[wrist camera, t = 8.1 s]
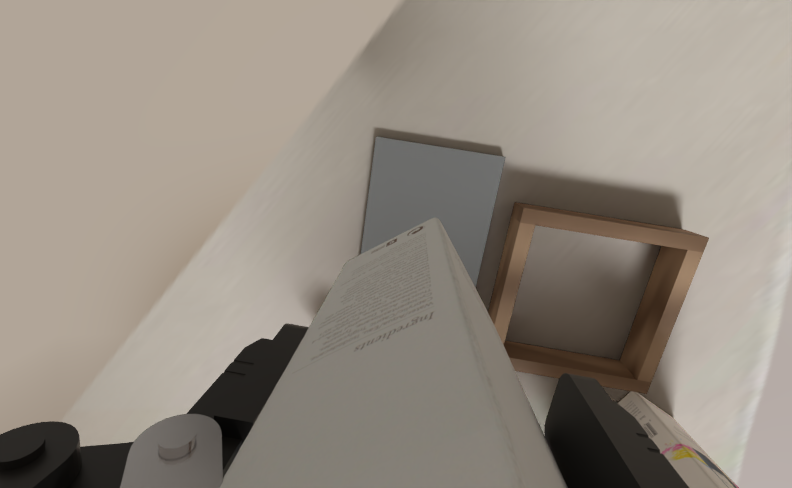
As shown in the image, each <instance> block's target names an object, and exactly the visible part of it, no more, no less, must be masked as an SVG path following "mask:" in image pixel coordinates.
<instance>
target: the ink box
mask: <svg viewBox="0 0 792 488" xmlns="http://www.w3.org/2000/svg"><path fill="white" fill-rule="evenodd" d="M618 404H619V405H620V406H621V407H623V408H624V409H625V410H626V411H627V412H629V413H630V414H631V415H632V416H634V417H635V418H636V420H637V421H638V422H639V423H640V425H641V426H642V427H643V429H644V430H645V431H646V433H647V434H648V437H649V438H650V439H652V440H653V442H654V443H655V444H656V445H657V447H658V448H659V449H660V454H663V455H664V456H665V457H666V458H667V460H668V461H669V462H670V464H671V465H672V466H673V467H674V469H675V470H676V471H677V473H678V474H679V475H680V476H681V478H682V479H683V480H684V482H685V483H686V484H687V486H688V487H689V488H739V487H738V486H737V485H736V484H735V483H734V482H733V481H732V480H731V479H730V478H729V477H728V476H727V475H726V474H725V473H724V472H723V471H722V470H721V468H720V467H719V466H718V465H717V464H716V463H715V462H714V461H713V460H712V459H711V458H710V457H709V456H708V455H707V454H706V453H705V451H704V450H703V449H702V448H701V447H700V446H699V445H698V444H697V443H696V442H695V441H694V440H693V439H692V438H691V436H690V435H689V434H688V433H687V432H686V431H685V430H684V429H683V428H682V427H681V426H680V425H679V424H678V423H677V421H676V420H675V419H674V418H673V417H671V416H670V415H669V414H667V413H666V412H664V411H663V410H661V409H660V408H659V407H657V406H656V405H654V404H653V403H652V402H650V401H649V400H647V399H646V398H644V397H643V396H641V395H640V394H639V393H637V392H633V391H631V392H630V393H629V394H627V395H626V396H625V397H624V398H623V399H622V400H621V401H620V402H618Z"/></svg>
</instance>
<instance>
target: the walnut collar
mask: <svg viewBox="0 0 792 488" xmlns="http://www.w3.org/2000/svg"><path fill="white" fill-rule="evenodd" d="M535 225H538V226H544V227H550V228H556V229H562V230H568V231H575V232H581V233H587V234H593V235H599V236H605V237H611V238H617V239H624V240H630V241H636V242H642V243H648V244H654V245H660V246H661V249H660V251H659V254H658V257H657V260H656V262H655V265H654V268H653V270H652V273H651V276H650V279H649V281H648V284H647V287H646V290H645V292H644V295H643V298H642V301H641V303H640V306H639V309H638V311H637V314H636V317H635V320H634V322H633V325H632V328H631V331H630V333H629V336H628V339H627V342H626V344H625V347H624V350H623V352H622V355H621V358H620V360H614V359H609V358H603V357H597V356H591V355H586V354H580V353H574V352H568V351H563V350H557V349H551V348H545V347H540V346H534V345H528V344H522V343H516V342H511V341H505V338H506V334H507V330H508V327H509V323H510V319H511V315H512V311H513V308H514V304H515V300H516V296H517V292H518V289H519V285H520V281H521V277H522V273H523V270H524V266H525V262H526V258H527V254H528V251H529V247H530V243H531V239H532V235H533V232H534V228H535ZM708 239H709V238H708V237H705V236H702V235H699V234H696V233H693V232H689V231H686V230H683V229H678V228H672V227H666V226H659V225H653V224H647V223H641V222H635V221H628V220H622V219H616V218H610V217H604V216H598V215H591V214H585V213H579V212H573V211H567V210H560V209H554V208H548V207H542V206H536V205H529V204H523V203H517V202H515V203H514V207H513V211H512V215H511V219H510V224H509V228H508V232H507V236H506V240H505V244H504V248H503V252H502V257H501V261H500V265H499V269H498V273H497V277H496V281H495V285H494V289H493V294H492V298H491V302H490V306H489V310H488V314H489V316H490V318H491V320H492V322H493V324H494V326H495V328H496V330H497V332H498V334H499V336H500V339H501V341H502V343H503V345H504V347H505V350H506V352H507V354H508V356H509V359H510V361H511V363H512V365H513V367H514V370H515V371H519V372H525V373H531V374H536V375H542V376H548V377H553V378H560V377H561V375H562V374H564V373H568V374H573V375H579V376H585V377H590V378H594V379H596V380H597V381H598V382H599V383H600V385H601V386H604V387H610V388H616V389H622V390H627V391H633V392H639V393H644V394H647V392H648V389H649V387H650V384H651V382H652V379H653V377H654V374H655V372H656V369H657V367H658V364H659V362H660V359H661V357H662V354H663V352H664V349H665V347H666V344H667V342H668V339H669V337H670V334H671V332H672V329H673V327H674V324H675V322H676V319H677V317H678V314H679V312H680V309H681V307H682V304H683V302H684V299H685V297H686V294H687V292H688V289H689V287H690V284H691V282H692V279H693V277H694V274H695V272H696V269H697V267H698V264H699V262H700V259H701V257H702V254H703V252H704V249H705V247H706V244H707V242H708Z"/></svg>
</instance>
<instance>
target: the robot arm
mask: <svg viewBox="0 0 792 488" xmlns="http://www.w3.org/2000/svg"><path fill="white" fill-rule="evenodd" d="M308 328H309V327H304V326H298V325H293V324H285V325H284V326H283V327H282V329H281V330H280V331H279V332H278V334H277V335H276V336H275V338H274V339H273V340H269V339H263V338H262V339H260V340H258V341H256V342H254V343H252V344H250V345H249V346H247V347H245V348H244V349H243V350H242V352H241V353H240V354H239V355H238V356H237V357H236V358H235V359H234V362H232V363H231V364H230V365H229V366H228V367H227V369H226V370H225V372H224V373H222V374H221V375H220V376H219V378H218V379H217V380H216V381H215V382H214V383H213V384H212V386H211V387H210V388H209V389H208V390H207V391H206V392H205V393H204V395H203V396H202V397H201V398H200V399H199V400H198V401H197V403H196V404H195V405H194V406H193V407H192V408H191V409H190V410H189V412H188V413H187V414H183V415H177V416H173V417H170V418H167V419H164V420H162V421H160V422H158V423H156V424H154V425H152V426H151V427H149V428H148V429H146V430H145V431H144V432H143V433H142V434H140V435H139V436H138V438H137V439H136V440H135V441H134V442H129V443H120V444H109V445H97V446H85V447H80V440H79V434H78V431H77V430H76V428H75V427H73V426H72V425H70V424H67V423H63V422H41V423H35V424H30V425H26V426H22V427H19V428H16V429H13V430H10V431H8V432H5V433H3V434H1V435H0V488H220V486H221V484H222V482H223V477H224V476H225V474H226V472H227V471H228V469H229V467H230V466H231V464H232V462H233V460H234V458H235V457H236V455H237V453H238V451H239V449H240V448H241V446H242V444H243V442H244V441H245V439H246V437H247V436H248V434H249V432H250V430H251V429H252V427H253V425H254V423H255V421H256V420H257V418H258V416H259V414H260V412H261V411H262V409H263V407H264V406H265V404H266V402H267V400H268V398H269V397H270V395H271V394H272V392H273V390H274V388H275V386H276V384H277V383H278V381H279V379H280V378H281V376H282V374H283V373H284V371H285V369H286V367H287V366H288V364H289V362H290V360H291V358H292V357H293V355H294V353H295V351H296V350H297V348H298V346H299V344H300V342H301V341H302V339H303V338H304V336H305V334H306V332H307V330H308ZM545 439H546V441H547V443H548V445H549V447H550V450H551V452H552V454H553V456H554V459H555V461H556V463H557V465H558V467H559V470H560V472H561V474H562V476H563V478H564V481H565V483H566V485H567V487H568V488H689V487H688V486H687V484H686V483H685V482H684V480H683V479H682V478H681V476H680V475H679V474H678V473H677V471H676V470H675V469H674V467H673V466H672V465H671V464H670V462H669V461H668V460H667V458H666V457H665V456H664V455H663V454H660V449H659V448H658V447H657V445H656V444H655V443H654V442H653V440H652V439H650V438H649V437H648V434H647V433H646V431H645V430H644V429H643V427H642V426H641V425H640V423H639V422H638V421H637V420H636V418H635V417H634V416H632V415H631V414H630V413H629V412H627V411H626V410H625V409H624V408H623V407H621V406H620V405H619V404H618V403H617V402H614V401H612V400H611V398H610V397H609V396H608V394H607V393H606V392H605V390H604V389H603V388H602V386H601V385H600V383H599V382H598V381H597V380H596V379H594V378H590V377H585V376H579V375H573V374H568V373H564V374H562V375H561V377H560V378H559V381H558V384H557V387H556V390H555V393H554V396H553V399H552V403H551V406H550V409H549V412H548V415H547V418H546V422H545Z"/></svg>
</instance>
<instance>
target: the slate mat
mask: <svg viewBox="0 0 792 488" xmlns="http://www.w3.org/2000/svg"><path fill="white" fill-rule="evenodd" d="M504 161H505V157H503V156H496V155H490V154H484V153H477V152H471V151H465V150H458V149H452V148H446V147H439V146H433V145H427V144H420V143H414V142H408V141H401V140H395V139H389V138H382V137H376V141H375V149H374V157H373V164H372V172H371V179H370V187H369V195H368V202H367V210H366V217H365V225H364V233H363V240H362V248H361V254H362V253H364V252H366V251H368V250H370V249H372V248H374V247H376V246H378V245H380V244H382V243H384V242H386V241H388V240H390V239H392V238H394V237H396V236H398V235H400V234H402V233H404V232H406V231H408V230H410V229H412V228H414V227H416V226H418V225H420V224H422V223H424V222H426V221H428V220H430V219H432V218H438V219H439V220H440V222H441V223H442V225H443V227H444V229H445V231H446V233H447V235H448V237H449V238H450V240H451V242H452V244H453V246H454V248H455V250H456V252H457V254H458V255H459V257H460V259H461V261H462V263H463V265H464V267H465V269H466V271H467V273H468V275H469V277H470V278H471V280H472V282H473V284H474V286H475V288H476V284H477V279H478V275H479V271H480V266H481V262H482V258H483V253H484V249H485V244H486V240H487V236H488V231H489V227H490V222H491V218H492V214H493V209H494V205H495V201H496V196H497V192H498V187H499V183H500V179H501V174H502V170H503V165H504Z"/></svg>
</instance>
